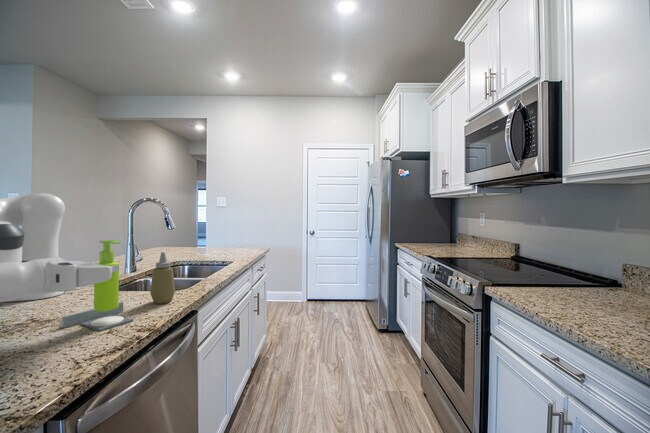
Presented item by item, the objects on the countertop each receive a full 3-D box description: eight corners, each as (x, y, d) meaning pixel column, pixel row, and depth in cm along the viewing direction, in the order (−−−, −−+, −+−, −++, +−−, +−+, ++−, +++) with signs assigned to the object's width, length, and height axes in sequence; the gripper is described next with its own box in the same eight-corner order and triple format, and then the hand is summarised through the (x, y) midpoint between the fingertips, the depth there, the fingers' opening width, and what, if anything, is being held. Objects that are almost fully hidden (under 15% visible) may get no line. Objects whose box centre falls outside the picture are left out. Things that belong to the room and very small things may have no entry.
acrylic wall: (61, 327, 86) (61, 316, 86) (121, 310, 100) (121, 301, 100) (63, 327, 85) (63, 317, 85) (123, 311, 99) (123, 302, 99)
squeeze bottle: (176, 297, 116) (176, 250, 115) (174, 303, 108) (174, 253, 108) (152, 299, 113) (152, 251, 112) (148, 306, 105) (148, 254, 105)
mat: (80, 324, 88) (80, 322, 88) (114, 315, 96) (114, 313, 96) (99, 331, 83) (99, 329, 83) (133, 321, 91) (133, 319, 91)
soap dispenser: (108, 312, 85) (109, 241, 85) (88, 310, 87) (89, 240, 86) (126, 306, 91) (126, 239, 91) (107, 304, 92) (107, 238, 92)
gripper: (33, 282, 82) (91, 273, 95) (71, 292, 73) (130, 281, 85) (33, 259, 82) (91, 253, 94) (71, 266, 73) (131, 258, 85)
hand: (110, 266), depth 90 cm, fingers closed on soap dispenser, 6 cm apart
